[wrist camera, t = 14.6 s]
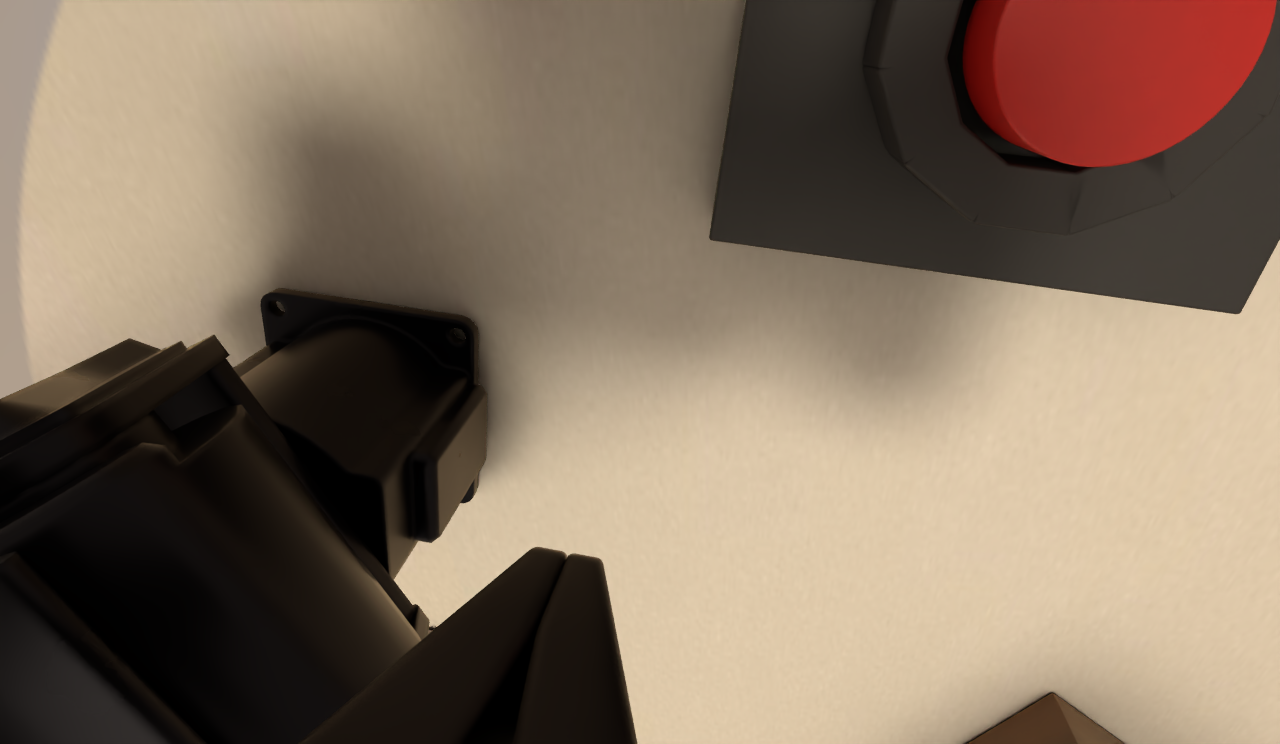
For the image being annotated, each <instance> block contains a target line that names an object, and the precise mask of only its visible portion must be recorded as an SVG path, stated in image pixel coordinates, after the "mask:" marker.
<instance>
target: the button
mask: <svg viewBox="0 0 1280 744" xmlns="http://www.w3.org/2000/svg"><path fill="white" fill-rule="evenodd" d="M1276 2H1277V0H977V1H976V3H975V5H974V7H973V10H972V13H971V15H970V18H969V21H968V25H967V29H966V33H965V38H964V46H963V73H964V79H965V85H966V88H967V91H968V94H969V98H970V100H971V102H972V104H973V106H974V108H975V110H976V112H977V113H978V114H979V116H980V117H981V119H982V120H983V121H984V123H985V124H986V125H987V126H988V127H989V128H990V129H991V130H992V131H993V132H995V133H996V134H997V135H999V136H1000V137H1001V138H1003V139H1005V140H1006V141H1008V142H1010V143H1012V144H1014V145H1016V146H1019V147H1022V148H1024V149H1027V150H1029V151H1032V152H1035V153H1037V154H1040V155H1042V156H1045V157H1047V158H1050V159H1053V160H1056V161H1059V162H1062V163H1065V164H1070V165H1075V166H1083V167H1107V166H1116V165H1121V164H1127V163H1131V162H1134V161H1138V160H1141V159H1144V158H1147V157H1150V156H1152V155H1155V154H1157V153H1159V152H1162V151H1164V150H1166V149H1168V148H1170V147H1171V146H1173V145H1175V144H1177V143H1179V142H1181V141H1182V140H1184V139H1185V138H1187V137H1188V136H1190V135H1191V134H1193V133H1194V132H1196V131H1197V130H1199V129H1200V128H1201V127H1202V126H1203V125H1205V124H1206V123H1207V122H1208V121H1209V120H1211V119H1212V118H1213V117H1214V116H1215V115H1216V114H1217V113H1218V112H1219V111H1220V110H1221V109H1222V108H1223V107H1224V106H1225V105H1226V104H1227V103H1228V102H1229V101H1230V100H1231V99H1232V97H1233V96H1234V95H1235V94H1236V92H1237V91H1238V90H1239V89H1240V88H1241V86H1242V85H1243V83H1244V82H1245V80H1246V79H1247V77H1248V76H1249V74H1250V73H1251V71H1252V70H1253V68H1254V66H1255V64H1256V62H1257V61H1258V59H1259V57H1260V55H1261V53H1262V51H1263V48H1264V46H1265V43H1266V41H1267V38H1268V36H1269V33H1270V30H1271V26H1272V22H1273V19H1274V15H1275V9H1276Z"/></svg>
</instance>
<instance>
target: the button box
mask: <svg viewBox="0 0 1280 744" xmlns="http://www.w3.org/2000/svg"><path fill="white" fill-rule="evenodd" d="M976 1H977V0H746V2H745V9H744V15H743V21H742V28H741V34H740V41H739V47H738V54H737V60H736V66H735V73H734V79H733V86H732V92H731V98H730V105H729V111H728V118H727V124H726V131H725V137H724V143H723V150H722V156H721V163H720V169H719V176H718V182H717V188H716V195H715V201H714V208H713V214H712V221H711V228H710V234H709V238H710V240H713V241H720V242H727V243H735V244H742V245H749V246H756V247H763V248H770V249H777V250H784V251H791V252H798V253H806V254H813V255H820V256H827V257H834V258H841V259H848V260H855V261H862V262H869V263H876V264H884V265H891V266H898V267H905V268H912V269H919V270H926V271H933V272H940V273H947V274H955V275H962V276H969V277H976V278H983V279H990V280H997V281H1004V282H1011V283H1018V284H1026V285H1033V286H1040V287H1047V288H1054V289H1061V290H1068V291H1075V292H1082V293H1089V294H1096V295H1104V296H1111V297H1118V298H1125V299H1132V300H1139V301H1146V302H1153V303H1160V304H1167V305H1175V306H1182V307H1189V308H1196V309H1203V310H1210V311H1217V312H1224V313H1231V314H1239V313H1240V312H1241V311H1242V309H1243V307H1244V305H1245V303H1246V301H1247V300H1248V298H1249V296H1250V294H1251V292H1252V290H1253V288H1254V286H1255V285H1256V283H1257V281H1258V279H1259V277H1260V275H1261V273H1262V271H1263V270H1264V268H1265V266H1266V264H1267V262H1268V260H1269V258H1270V256H1271V255H1272V253H1273V251H1274V249H1275V247H1276V245H1277V243H1278V241H1279V240H1280V0H1277V2H1276V9H1275V15H1274V19H1273V22H1272V26H1271V30H1270V33H1269V36H1268V38H1267V41H1266V43H1265V46H1264V48H1263V51H1262V53H1261V55H1260V57H1259V59H1258V61H1257V62H1256V64H1255V66H1254V68H1253V70H1252V71H1251V73H1250V74H1249V76H1248V77H1247V79H1246V80H1245V82H1244V83H1243V85H1242V86H1241V88H1240V89H1239V90H1238V91H1237V92H1236V94H1235V95H1234V96H1233V97H1232V99H1231V100H1230V101H1229V102H1228V103H1227V104H1226V105H1225V106H1224V107H1223V108H1222V109H1221V110H1220V111H1219V112H1218V113H1217V114H1216V115H1215V116H1214V117H1213V118H1212V119H1211V120H1209V121H1208V122H1207V123H1206V124H1205V125H1203V126H1202V127H1201V128H1200V129H1199V130H1197V131H1196V132H1194V133H1193V134H1191V135H1190V136H1188V137H1187V138H1185V139H1184V140H1182V141H1181V142H1179V143H1177V144H1175V145H1173V146H1171V147H1170V148H1168V149H1166V150H1164V151H1162V152H1159V153H1157V154H1155V155H1152V156H1150V157H1147V158H1144V159H1141V160H1138V161H1134V162H1131V163H1127V164H1121V165H1116V166H1107V167H1083V166H1075V165H1070V164H1065V163H1062V162H1059V161H1056V160H1053V159H1050V158H1047V157H1045V156H1042V155H1040V154H1037V153H1035V152H1032V151H1029V150H1027V149H1024V148H1022V147H1019V146H1016V145H1014V144H1012V143H1010V142H1008V141H1006V140H1005V139H1003V138H1001V137H1000V136H999V135H997V134H996V133H995V132H993V131H992V130H991V129H990V128H989V127H988V126H987V125H986V124H985V123H984V121H983V120H982V119H981V117H980V116H979V114H978V113H977V112H976V110H975V108H974V106H973V104H972V102H971V100H970V98H969V94H968V91H967V88H966V85H965V79H964V73H963V46H964V38H965V33H966V29H967V25H968V21H969V18H970V15H971V13H972V10H973V7H974V5H975V3H976Z"/></svg>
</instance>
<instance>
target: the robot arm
mask: <svg viewBox="0 0 1280 744" xmlns="http://www.w3.org/2000/svg"><path fill="white" fill-rule="evenodd" d="M277 301H278V302H280V303H281V304H282V305H283V306H284V308H285V312H284V311H282V310H281V309H280V308H279V307H278V305H277V303H276V302H277ZM261 312H262V319H263V326H264V333H265V340H266V347H264V348H263V349H261V350H260V351H258V352H257V353H255V354H254V355H252V356H251V357H249V358H248V359H246V360H245V361H243V362H241V363H240V364H238V365H237V366H235V367H234V368H233V367H232V366H231V365H230V364H229V362H228V361H227V360H226V358H227V357H228V356H229V354H228V352H227V351H226V350H225V348H224V347H223V346H222V344H221V343H220V342H219V340H218V339H217V338H216V336H215V335H212V336H210V337H208V338H206V339H204V340H202V341H200V342H198V343H196V344H194V345H192V346H190V347H188V348H186V346H185V345H184V344H183V342H182V341H180V342H178V343H176V344H174V345H172V346H170V347H168V348H164V349H162V350H160V349H158V348H155V347H152V346H149V345H146V344H144V343H141V342H138V341H135V340H133V339H130V338H129V339H127V340H125V341H123V342H121V343H119V344H117V345H115V346H113V347H111V348H109V349H107V350H105V351H103V352H101V353H99V354H97V355H95V356H93V357H91V358H89V359H86V360H84V361H82V362H80V363H78V364H76V365H74V366H72V367H70V368H68V369H66V370H64V371H62V372H59V373H57V374H55V375H53V376H51V377H48V378H46V379H44V380H42V381H40V382H37V383H35V384H33V385H31V386H28V387H26V388H24V389H22V390H19V391H17V392H15V393H13V394H10V395H8V396H6V397H4V398H2V399H0V744H637V739H636V734H635V728H634V723H633V718H632V713H631V707H630V702H629V697H628V692H627V686H626V681H625V676H624V671H623V665H622V660H621V655H620V650H619V644H618V639H617V634H616V629H615V623H614V618H613V613H612V608H611V602H610V597H609V592H608V587H607V581H606V576H605V571H604V566H603V562H602V561H601V560H600V559H599V558H596V557H590V556H585V555H580V554H570V555H569V556H568V557H567V555H566V554H565V553H564V552H563V551H558V550H553V549H547V548H542V547H535V548H532V549H531V550H529V551H528V552H527V553H526V554H524V555H523V556H522V557H521V558H520V559H518V560H517V561H516V562H515V563H514V564H512V565H511V566H510V567H509V568H508V569H506V570H505V571H504V572H503V573H502V574H500V575H499V576H498V577H497V578H496V579H494V580H493V581H492V582H491V583H490V584H488V585H487V586H486V587H485V588H484V589H482V590H481V591H480V592H479V593H478V594H476V595H475V596H474V597H473V598H472V599H470V600H469V601H468V602H467V603H466V604H464V605H463V606H462V607H461V608H460V609H458V610H457V611H456V612H455V613H453V614H452V615H451V616H450V617H449V618H447V619H446V620H445V621H444V622H443V623H441V624H440V625H439V626H438V627H437V628H435V629H434V630H433V631H432V632H431V633H429V634H428V629H429V619H428V618H427V617H426V615H425V614H424V613H423V611H422V610H421V609H420V607H419V606H418V605H416V604H415V605H412V604H411V603H410V601H409V600H408V599H407V597H406V596H405V595H404V593H403V592H402V591H401V589H400V588H399V587H398V585H397V584H396V583H395V582H394V578H395V577H396V575H397V574H398V572H399V570H400V569H401V567H402V566H403V564H404V563H405V561H406V559H407V558H408V556H409V555H410V553H411V552H412V550H413V548H414V547H415V545H416V544H417V542H418V541H423V542H429V543H432V542H433V541H434V540H436V539H437V538H438V537H440V536H441V534H442V532H443V531H444V529H445V527H446V526H447V524H448V522H449V521H450V519H451V517H452V516H453V514H454V512H455V511H456V509H457V507H458V506H459V504H460V503H466V502H469V501H470V500H471V499H472V498H473V496H474V495H475V493H476V491H477V488H478V472H479V471H480V469H481V467H482V466H483V464H484V462H485V460H486V444H487V393H486V391H485V390H484V388H483V387H482V386H481V385H478V356H479V333H478V328H477V326H476V325H475V323H474V322H473V321H472V320H471V319H469V318H468V317H465V316H462V315H455V314H449V313H442V312H436V311H429V310H422V309H416V308H409V307H403V306H396V305H390V304H383V303H376V302H370V301H363V300H357V299H350V298H343V297H337V296H330V295H324V294H317V293H311V292H304V291H297V290H291V289H284V288H277V289H275V290H273V291H271V292H269V293H268V294H266V295H264V296H263V298H262V299H261ZM454 328H458V329H460V330H462V331H463V332H464V333H465V336H466V339H460V338H458V337H457V336H456V335H455V333H454Z"/></svg>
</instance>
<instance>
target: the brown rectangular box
mask: <svg viewBox="0 0 1280 744" xmlns="http://www.w3.org/2000/svg"><path fill="white" fill-rule="evenodd" d="M967 744H1124V743H1122V742H1121V741H1120V740H1118V739H1117V738H1115V737H1114V736H1113V735H1111V734H1110V733H1108V732H1107V731H1106V730H1104V729H1103V728H1101V727H1100V726H1099V725H1097V724H1096V723H1094V722H1093V721H1092V720H1090V719H1089V718H1087V717H1086V716H1085V715H1083V714H1082V713H1080V712H1079V711H1078V710H1076V709H1075V708H1073V707H1072V706H1071V705H1069V704H1068V703H1066V702H1065V701H1063V700H1062V699H1061V698H1059V697H1058V696H1056V695H1055V694H1054V693H1051V694H1049V695H1048V696H1046V697H1044V698H1043V699H1041V700H1039V701H1038V702H1036V703H1034V704H1033V705H1031V706H1029V707H1028V708H1026V709H1024V710H1023V711H1021V712H1019V713H1018V714H1016V715H1014V716H1012V717H1011V718H1009V719H1007V720H1006V721H1004V722H1002V723H1001V724H999V725H997V726H996V727H994V728H992V729H991V730H989V731H987V732H986V733H984V734H982V735H981V736H979V737H977V738H976V739H974V740H972V741H971V742H969V743H967Z"/></svg>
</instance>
